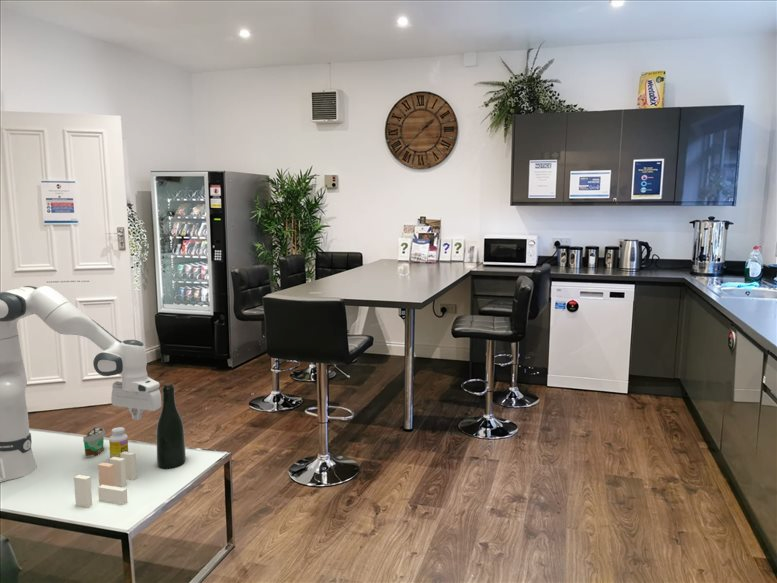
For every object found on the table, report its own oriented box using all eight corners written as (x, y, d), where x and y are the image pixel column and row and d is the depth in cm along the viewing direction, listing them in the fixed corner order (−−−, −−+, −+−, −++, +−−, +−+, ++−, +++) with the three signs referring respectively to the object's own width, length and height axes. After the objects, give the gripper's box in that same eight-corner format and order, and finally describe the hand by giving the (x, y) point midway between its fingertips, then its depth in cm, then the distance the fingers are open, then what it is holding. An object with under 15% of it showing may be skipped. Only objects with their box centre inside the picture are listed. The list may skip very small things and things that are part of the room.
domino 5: (132, 481, 213) (131, 455, 212) (121, 479, 215) (120, 453, 214) (136, 478, 215) (135, 453, 214) (125, 476, 217) (124, 451, 216)
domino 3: (110, 493, 204) (109, 466, 202) (99, 491, 205) (97, 464, 204) (115, 491, 206) (113, 464, 204) (104, 489, 207) (102, 462, 206)
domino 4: (98, 500, 199) (123, 505, 196) (98, 487, 198) (122, 491, 195) (103, 498, 201) (127, 502, 198) (102, 484, 200) (126, 488, 197)
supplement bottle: (121, 464, 228) (119, 433, 226) (106, 462, 229) (104, 431, 227) (132, 457, 234) (130, 426, 232) (117, 456, 235) (116, 425, 234)
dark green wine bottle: (176, 472, 221) (173, 388, 217) (151, 470, 223) (147, 386, 218) (191, 461, 231) (187, 380, 227) (166, 459, 233) (163, 379, 229)
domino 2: (122, 487, 209) (120, 460, 207) (111, 485, 210) (109, 458, 209) (126, 484, 210) (124, 458, 209) (115, 482, 212) (113, 456, 211)
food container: (101, 460, 231) (99, 436, 230) (84, 461, 230) (82, 437, 229) (110, 448, 243) (109, 425, 242) (94, 449, 242) (93, 426, 241)
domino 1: (87, 507, 194) (85, 479, 193) (75, 505, 195) (73, 477, 194) (92, 504, 196) (90, 476, 194) (80, 502, 197) (78, 474, 196)
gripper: (106, 383, 216) (108, 418, 218) (151, 388, 210) (153, 425, 212) (118, 378, 222) (120, 413, 224) (163, 383, 216) (164, 419, 218)
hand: (136, 419), depth 218 cm, fingers closed
